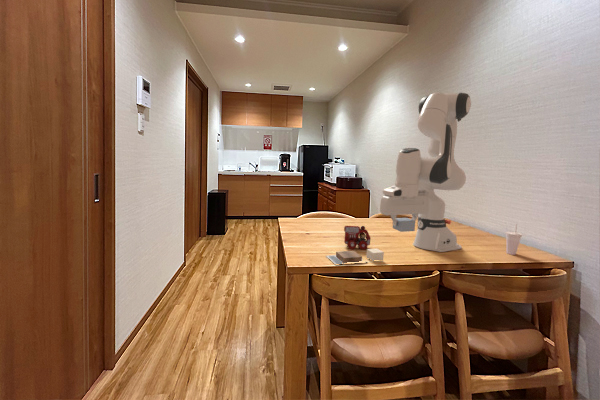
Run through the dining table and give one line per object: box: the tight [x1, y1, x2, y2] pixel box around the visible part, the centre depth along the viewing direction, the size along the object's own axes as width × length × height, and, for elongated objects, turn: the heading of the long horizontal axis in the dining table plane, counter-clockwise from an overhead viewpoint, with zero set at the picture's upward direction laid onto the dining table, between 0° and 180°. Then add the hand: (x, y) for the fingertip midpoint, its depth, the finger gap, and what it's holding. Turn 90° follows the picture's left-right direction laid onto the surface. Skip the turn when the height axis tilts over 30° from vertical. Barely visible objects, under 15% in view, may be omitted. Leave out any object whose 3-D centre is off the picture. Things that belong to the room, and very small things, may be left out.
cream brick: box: [365, 248, 385, 262], centre depth 134 cm, size 5×5×4 cm
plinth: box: [335, 250, 363, 263], centre depth 133 cm, size 8×8×2 cm
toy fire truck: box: [343, 225, 371, 251], centre depth 149 cm, size 7×12×10 cm, turn 90°
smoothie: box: [505, 224, 523, 256], centre depth 147 cm, size 6×6×14 cm
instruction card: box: [325, 254, 344, 265], centre depth 133 cm, size 14×11×1 cm
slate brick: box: [392, 217, 416, 233], centre depth 126 cm, size 6×6×4 cm
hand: (403, 225), depth 126 cm, fingers closed on slate brick, 6 cm apart
